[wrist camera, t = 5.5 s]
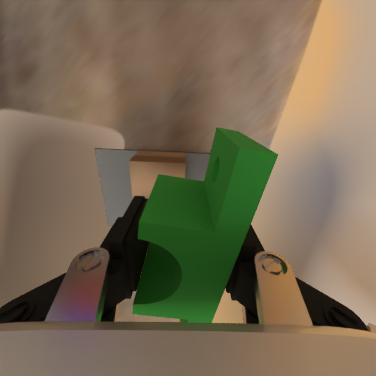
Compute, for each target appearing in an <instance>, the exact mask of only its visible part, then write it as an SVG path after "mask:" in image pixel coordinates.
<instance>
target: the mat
mask: <svg viewBox="0 0 376 376" xmlns="http://www.w3.org/2000/svg"><path fill="white" fill-rule="evenodd" d="M138 151H144V150H122V149H101V148H95V155H96V160H97V166H98V171H99V177H100V183H101V188H102V193H103V199H104V205H105V211H106V216H107V222H108V226H113V224H114V223H115V221H116V219H117V218H118V217H123V215H124V213H125V212H126V210H127V208H128V206H129V205H130V203H131V201H132V199H133V198H132V188H131V178H130V168H129V160H130V159H131V158H132V157H133V156H134V155H135V154H136V153H137V152H138ZM151 152H165V151H151ZM172 153H186V166H185V178H186V179H193V180H199V181H204V179H205V175H206V171H207V166H208V162H209V158H210V154H208V153H187V152H172Z"/></svg>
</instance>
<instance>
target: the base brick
mask: <svg viewBox="0 0 376 376" xmlns="http://www.w3.org/2000/svg"><path fill="white" fill-rule="evenodd" d="M185 166H186V153H172V152H151V151H138V152H137V153H136V154H135V155H134V156H133V157H132V158H131V159H130V160H129V168H130V178H131V188H132V198H134V196H145V198H147V199H148V198H149V196H150V194H151V191H152V189H153V186H154V184H155V181H156V179H157V176H158V174H162V175H168V176H174V177H180V178H185Z"/></svg>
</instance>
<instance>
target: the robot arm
mask: <svg viewBox="0 0 376 376" xmlns="http://www.w3.org/2000/svg"><path fill="white" fill-rule="evenodd" d="M147 201H148V199H147V198H145V196H134V198H133V199H132V201H131V203H130V205H129V206H128V208H127V210H126V212H125V213H124V215H123V217H118V218H117V219H116V221H115V223H114V224H113V226H112V228H111V229H110V231H109V233H108V234H107V236H106V238H105V239H104V241H103V242H102V244H101V246H100V247H99V248H90V249H87V250H85V251H83V252H81V253H80V254H78V255H77V256H76V257H75V258H74V259H73V261H72V262H71V264H70V266H69V268H68V270H67V272H66V273H65V274H62V275H61V276H59V277H57V278H55V279H53V280H51V281H49V282H47V283H45V284H43V285H41V286H39V287H37V288H35V289H33V290H31V291H29V292H27V293H26V294H24V295H21V296H20V297H18V298H16V299H14V300H12V301H10V302H8V303H7V304H5V305H4V306H2V307H1V308H0V376H376V326H375V325H373V324H370V323H369V324H368V325H365V324H364V322H363V321H362V320H361V319H360V318H359V317H358V316H357V315H356V314H355V313H354V312H353V311H352V310H350V309H349V308H347V307H346V306H344V305H342V304H341V303H339V302H337V301H335V300H334V299H332V298H330V297H329V296H327V295H325V294H323V293H322V292H320V291H318V290H317V289H315V288H313V287H312V286H310V285H308V284H306V283H305V282H303V281H301V280H299V279H298V278H296V277H295V276H294V273H293V271H292V268H291V266H290V264H289V263H288V262H287V261H286V260H285V259H284V258H283V257H282V256H280V255H278V254H276V253H273V252H270V251H269V252H268V251H265V250H264V248H263V247H262V245H261V243H260V241H259V239H258V237H257V235H256V233H255V231H254V229H253V228H252V225H251V224H250V227H249V229H248V232H247V234H246V237H245V239H244V242H243V245H242V247H241V250H240V252H239V255H238V257H237V260H236V262H235V265H234V267H233V270H232V272H231V275H230V277H229V280H228V282H227V285H226V287H225V288H226V292H227V293H230V294H231V299H232V300H237V301H238V302H239V303H241V304H242V305H243V324H236V323H235V324H234V323H180V322H117V319H118V311H119V303H120V302H121V301H123V300H124V299H125V298H127V299H131V296H132V292H133V291H136V290H137V287H138V283H139V280H140V276H141V272H142V269H143V265H144V261H145V258H146V254H147V250H148V246H149V243H150V242H149V241H146V240H141V239H138V228H139V220H140V218H141V216H142V213H143V211H144V208H145V206H146V203H147Z"/></svg>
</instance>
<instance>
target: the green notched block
mask: <svg viewBox="0 0 376 376" xmlns="http://www.w3.org/2000/svg"><path fill="white" fill-rule="evenodd" d="M277 156H278V154H276V153H274V152H273V151H271V150H269V149H267V148H266V147H264V146H262V145H261V144H259V143H257V142H255V141H254V140H252V139H250V138H249V137H247V136H245V135H243V134H242V133H240V132H238V131H233V130H228V129H222V128H216V132H215V136H214V141H213V145H212V149H211V154H210V158H209V162H208V166H207V171H206V175H205V179H204V181H199V180H193V179H186V178H180V177H174V176H168V175H162V174H158V176H157V179H156V181H155V184H154V186H153V189H152V191H151V194H150V196H149V198H148V201H147V203H146V206H145V208H144V211H143V213H142V216H141V218H140V220H139V228H138V239H141V240H146V241H149V242H150V244H149V247H148V251H147V255H146V258H145V262H144V266H143V270H142V273H141V277H140V281H139V284H138V288H137V292H136V295H135V299H134V303H133V314H137V315H147V316H157V317H166V318H176V319H180V323H212V320H213V318H214V315H215V313H216V310H217V308H218V305H219V303H220V300H221V297H222V295H223V292H224V290H225V287H226V285H227V282H228V280H229V277H230V275H231V272H232V270H233V267H234V265H235V262H236V260H237V257H238V255H239V252H240V250H241V247H242V245H243V242H244V239H245V237H246V234H247V232H248V229H249V227H250V224H251V222H252V219H253V216H254V214H255V212H256V209H257V207H258V204H259V202H260V199H261V197H262V194H263V191H264V189H265V186H266V184H267V181H268V179H269V176H270V174H271V171H272V169H273V166H274V164H275V161H276V159H277Z"/></svg>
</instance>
